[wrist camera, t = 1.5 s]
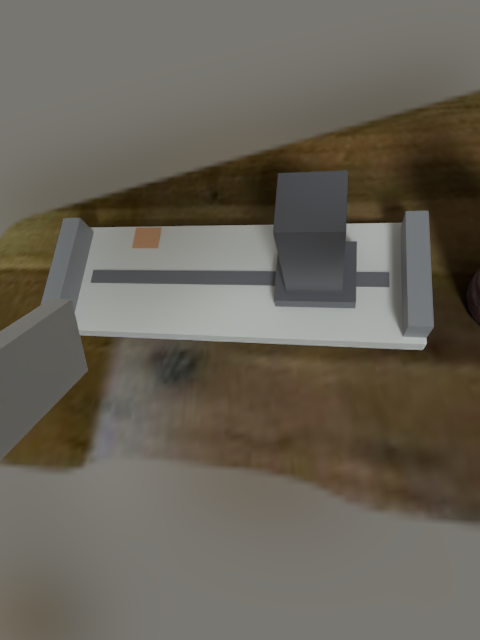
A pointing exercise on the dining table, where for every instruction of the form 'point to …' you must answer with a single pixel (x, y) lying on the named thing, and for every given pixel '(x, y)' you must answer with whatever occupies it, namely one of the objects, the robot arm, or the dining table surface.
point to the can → (474, 296)
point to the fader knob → (313, 241)
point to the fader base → (239, 285)
